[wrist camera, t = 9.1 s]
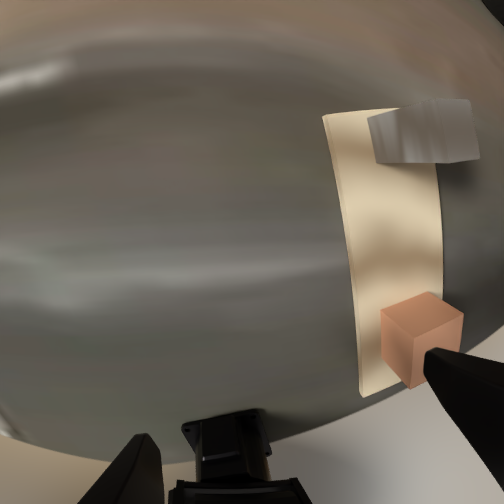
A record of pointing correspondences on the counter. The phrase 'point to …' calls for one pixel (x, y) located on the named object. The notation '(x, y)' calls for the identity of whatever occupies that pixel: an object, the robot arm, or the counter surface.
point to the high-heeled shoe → (496, 8)
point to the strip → (394, 209)
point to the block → (417, 334)
